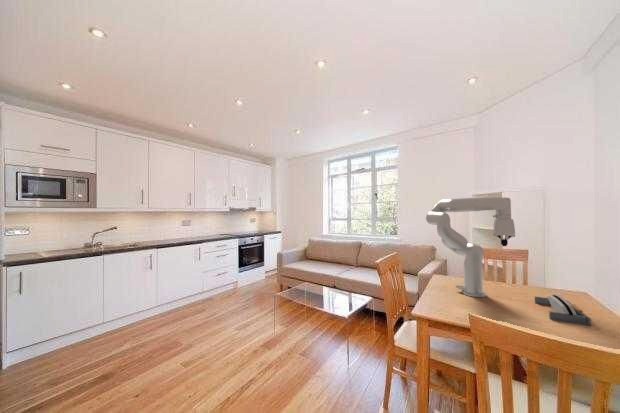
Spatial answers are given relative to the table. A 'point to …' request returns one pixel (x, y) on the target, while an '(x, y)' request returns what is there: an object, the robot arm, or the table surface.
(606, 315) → the table surface
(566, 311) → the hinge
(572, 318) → the bay
